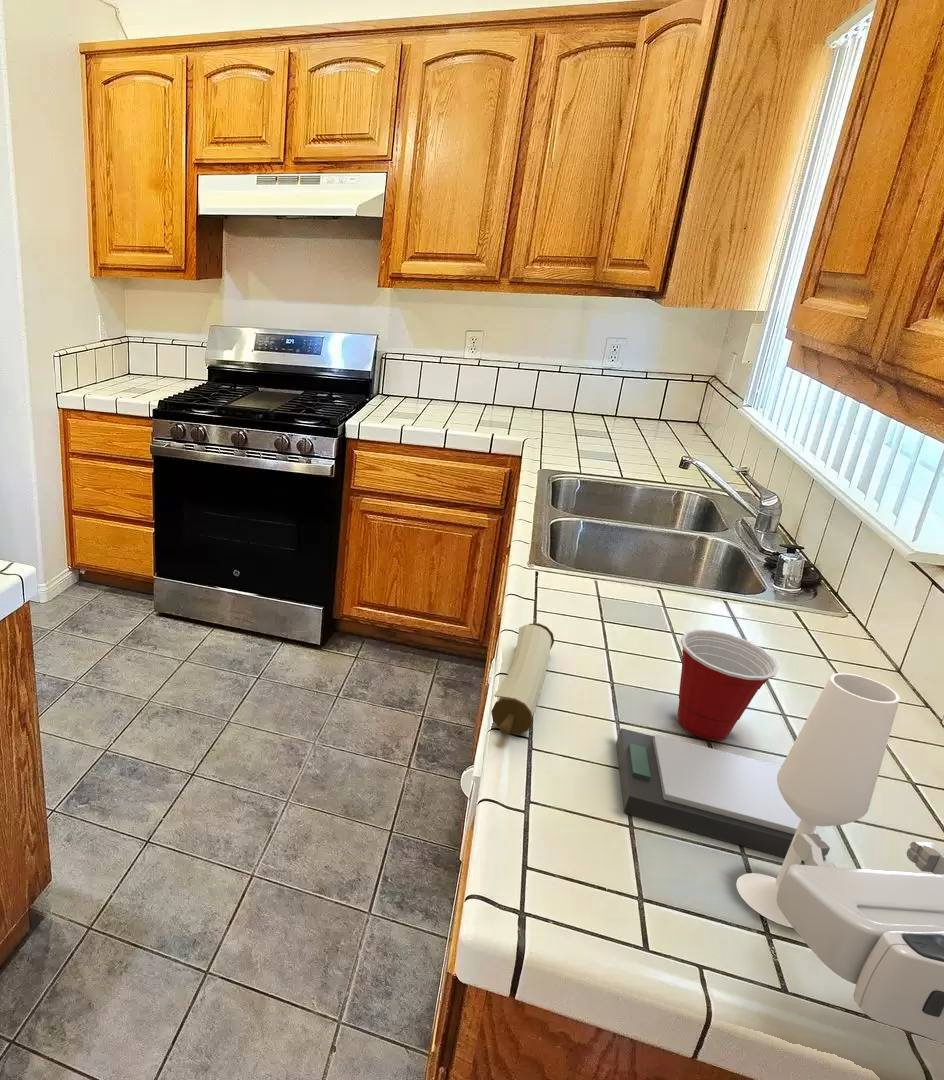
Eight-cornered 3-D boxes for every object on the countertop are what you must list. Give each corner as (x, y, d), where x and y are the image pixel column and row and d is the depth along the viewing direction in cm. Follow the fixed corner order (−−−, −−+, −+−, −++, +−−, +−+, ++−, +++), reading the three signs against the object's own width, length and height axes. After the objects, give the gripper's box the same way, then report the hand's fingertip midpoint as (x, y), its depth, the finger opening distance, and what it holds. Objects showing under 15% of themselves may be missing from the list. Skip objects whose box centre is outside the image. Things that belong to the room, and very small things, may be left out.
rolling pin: (523, 755, 92) (531, 721, 91) (477, 740, 95) (484, 706, 93) (556, 647, 119) (562, 618, 117) (519, 637, 121) (525, 609, 120)
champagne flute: (724, 867, 77) (800, 662, 68) (797, 879, 76) (884, 673, 67) (754, 921, 71) (842, 703, 62) (834, 935, 69) (935, 715, 61)
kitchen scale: (782, 785, 89) (791, 763, 88) (817, 867, 77) (827, 842, 76) (616, 743, 96) (622, 722, 95) (623, 813, 84) (630, 789, 82)
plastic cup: (702, 759, 94) (730, 675, 89) (639, 709, 103) (661, 632, 99) (772, 749, 96) (803, 668, 92) (704, 702, 106) (729, 626, 101)
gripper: (1193, 972, 49) (1002, 822, 62) (875, 949, 50) (750, 805, 63) (1146, 1038, 52) (971, 881, 65) (842, 1015, 52) (728, 864, 65)
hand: (860, 843), depth 64 cm, fingers open, 8 cm apart
